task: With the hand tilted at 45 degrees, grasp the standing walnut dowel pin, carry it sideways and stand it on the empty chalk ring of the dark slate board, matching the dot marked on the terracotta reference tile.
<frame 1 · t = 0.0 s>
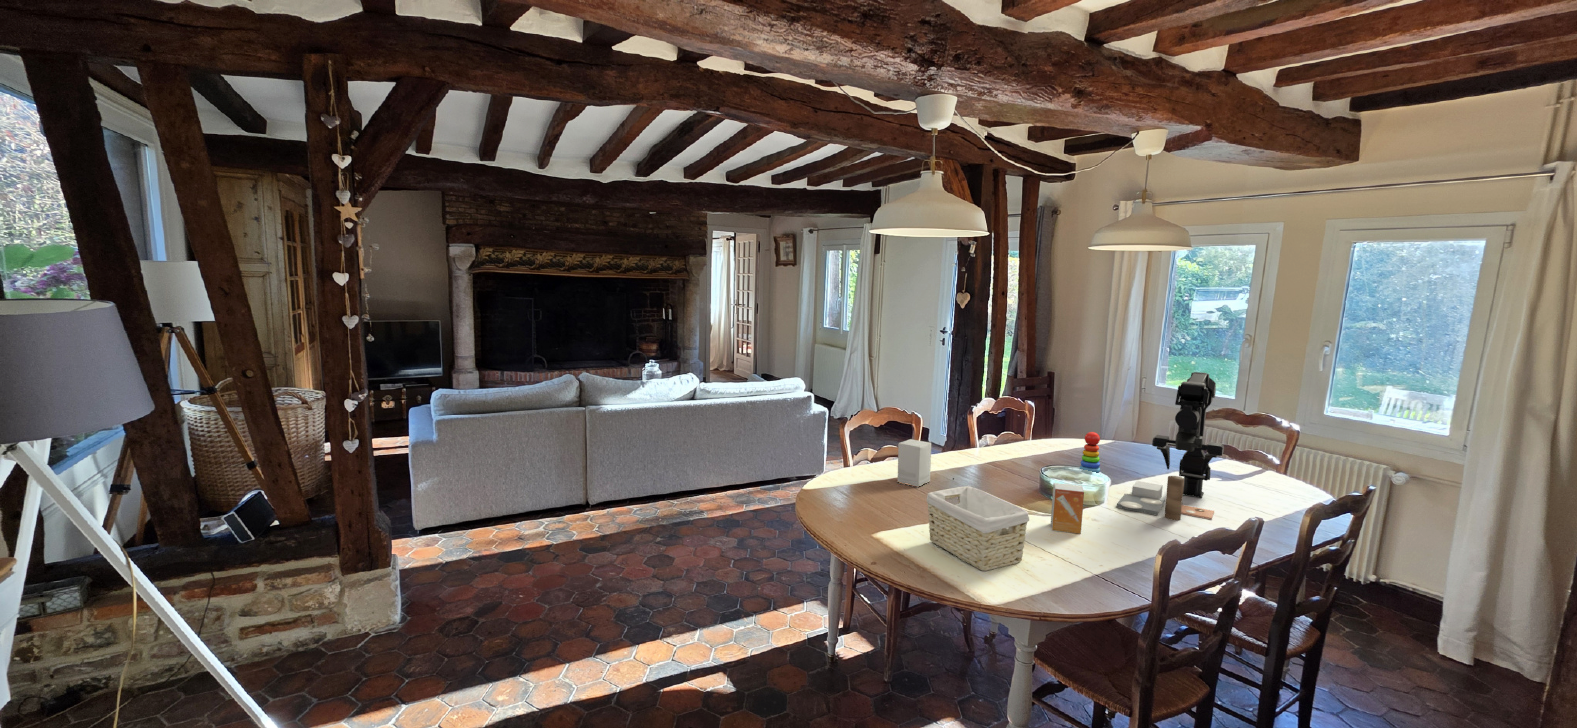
hand: (1185, 471, 208), 15 cm above the table, tool pointing down, fingers open, 9 cm apart
storage basket: (973, 553, 181), on the table
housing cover: (1146, 496, 229), on the table
slate board: (1140, 505, 220), on the table
stacking toy: (1088, 482, 245), on the table
small box: (1065, 529, 199), on the table
supplement box: (913, 483, 242), on the table
walnut pin: (1172, 517, 209), on the table
reference tile: (1194, 512, 214), on the table
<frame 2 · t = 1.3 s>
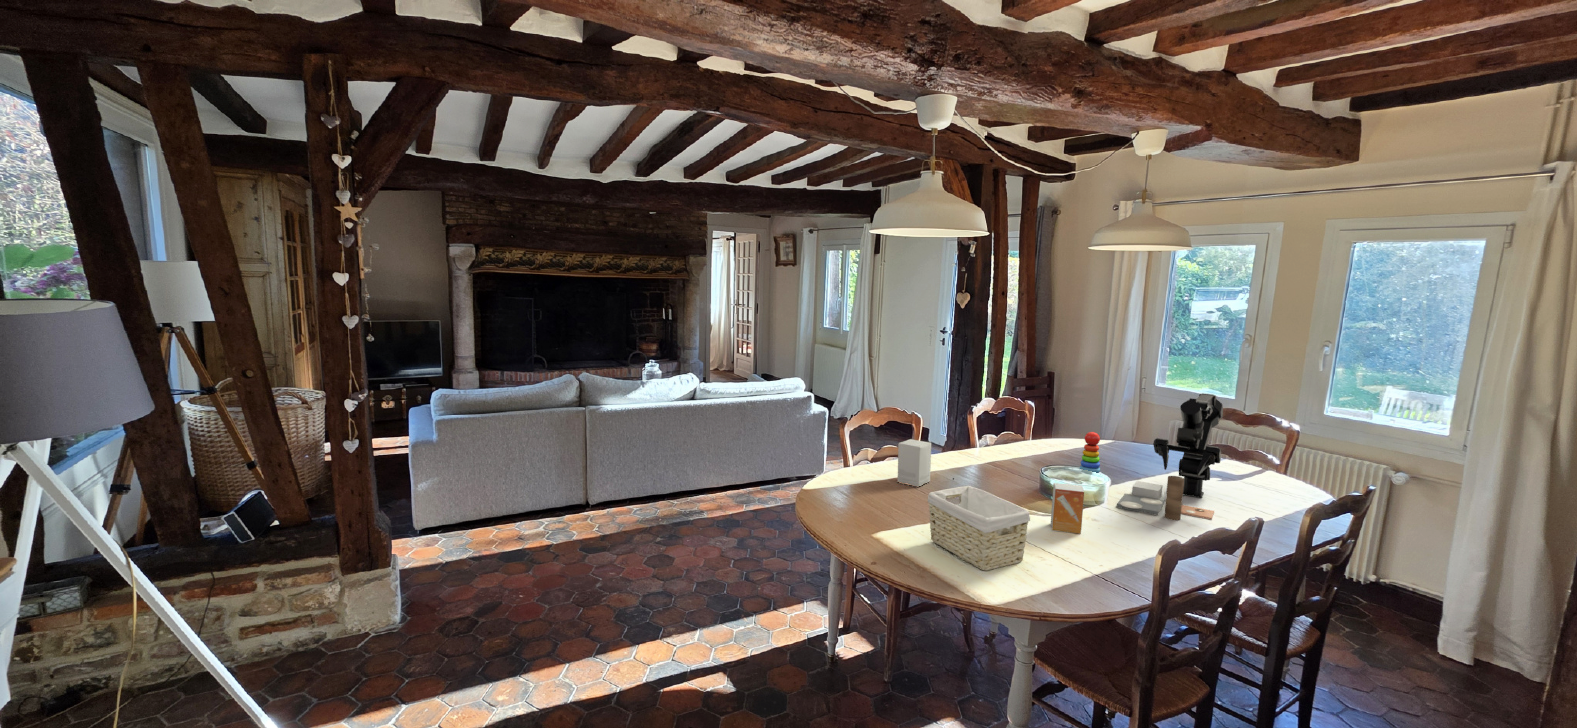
hand: (1181, 471, 213), 13 cm above the table, tool tilted 45°, fingers open, 9 cm apart
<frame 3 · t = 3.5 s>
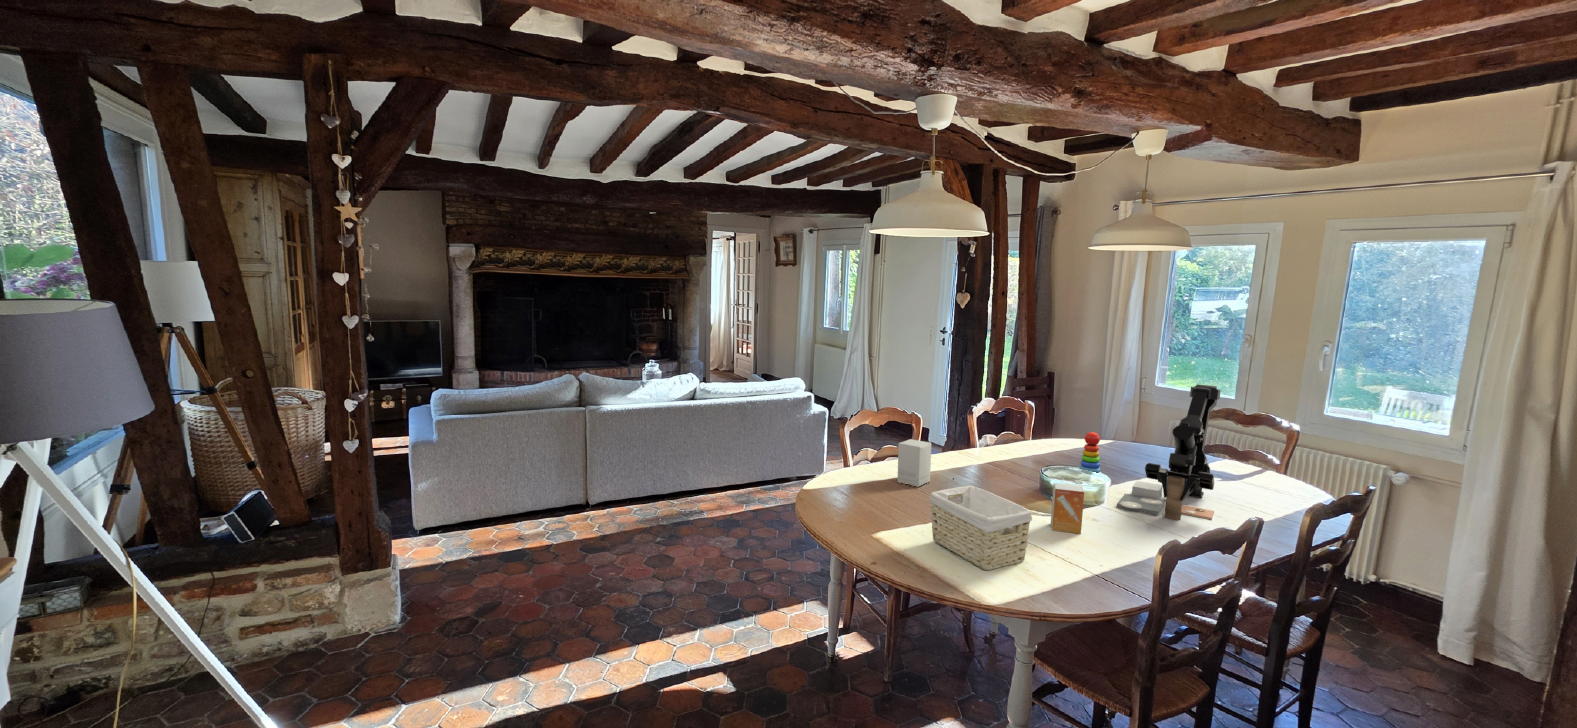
hand: (1173, 498, 207), 7 cm above the table, tool tilted 45°, fingers closed on walnut pin, 4 cm apart
walnut pin: (1172, 517, 209), on the table, touching gripper
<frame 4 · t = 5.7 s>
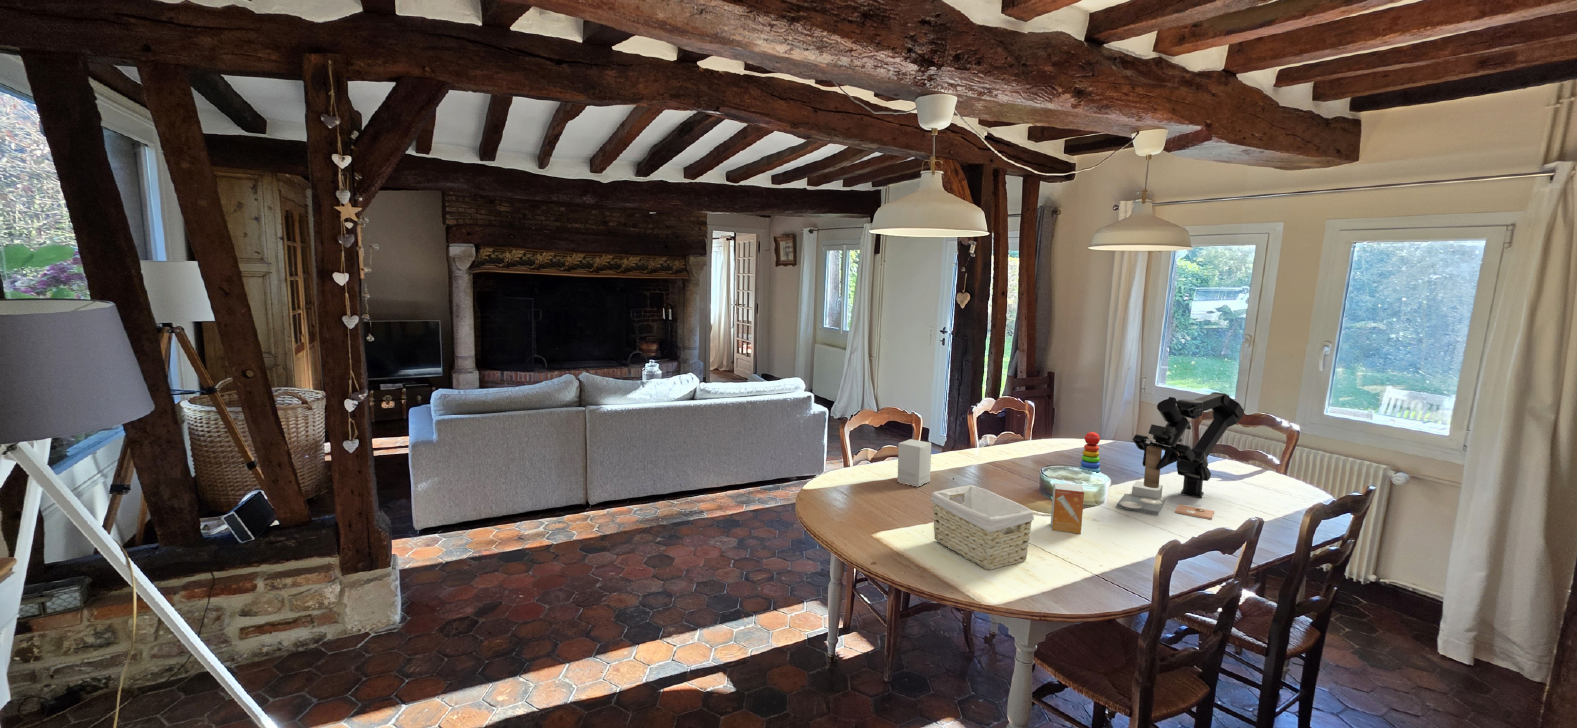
hand: (1150, 467, 219), 13 cm above the table, tool tilted 45°, fingers closed on walnut pin, 4 cm apart
walnut pin: (1151, 485, 220), point 6 cm above the table, touching gripper
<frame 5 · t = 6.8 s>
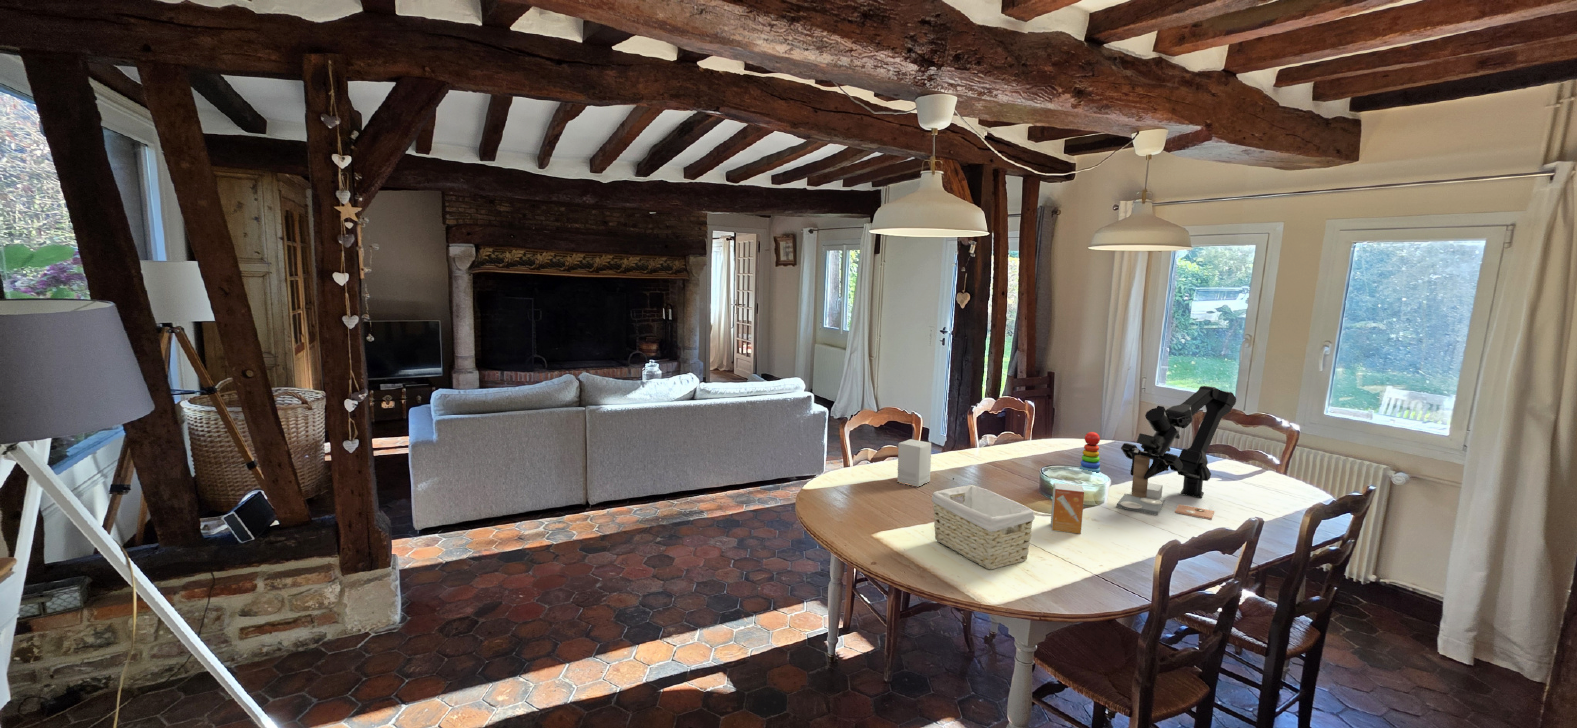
hand: (1137, 476, 217), 10 cm above the table, tool tilted 45°, fingers closed on walnut pin, 4 cm apart
walnut pin: (1138, 495, 218), point 4 cm above the table, touching gripper
when the fingers open (8 cm above the table, at t = 7.9 s): walnut pin stays where it is, resting on slate board.
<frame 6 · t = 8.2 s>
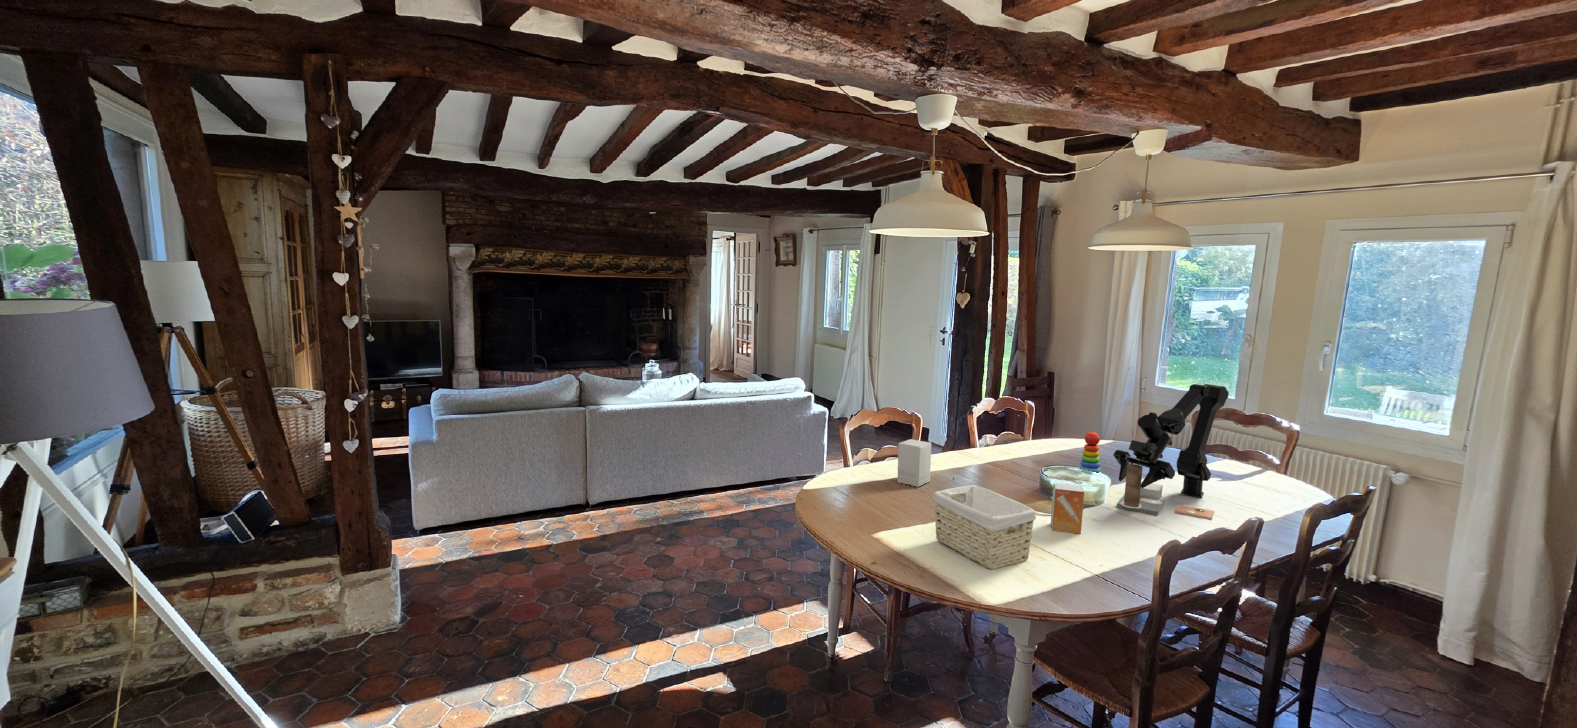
hand: (1130, 483, 215), 9 cm above the table, tool tilted 45°, fingers open, 7 cm apart
walnut pin: (1131, 504, 217), point 1 cm above the table, touching slate board
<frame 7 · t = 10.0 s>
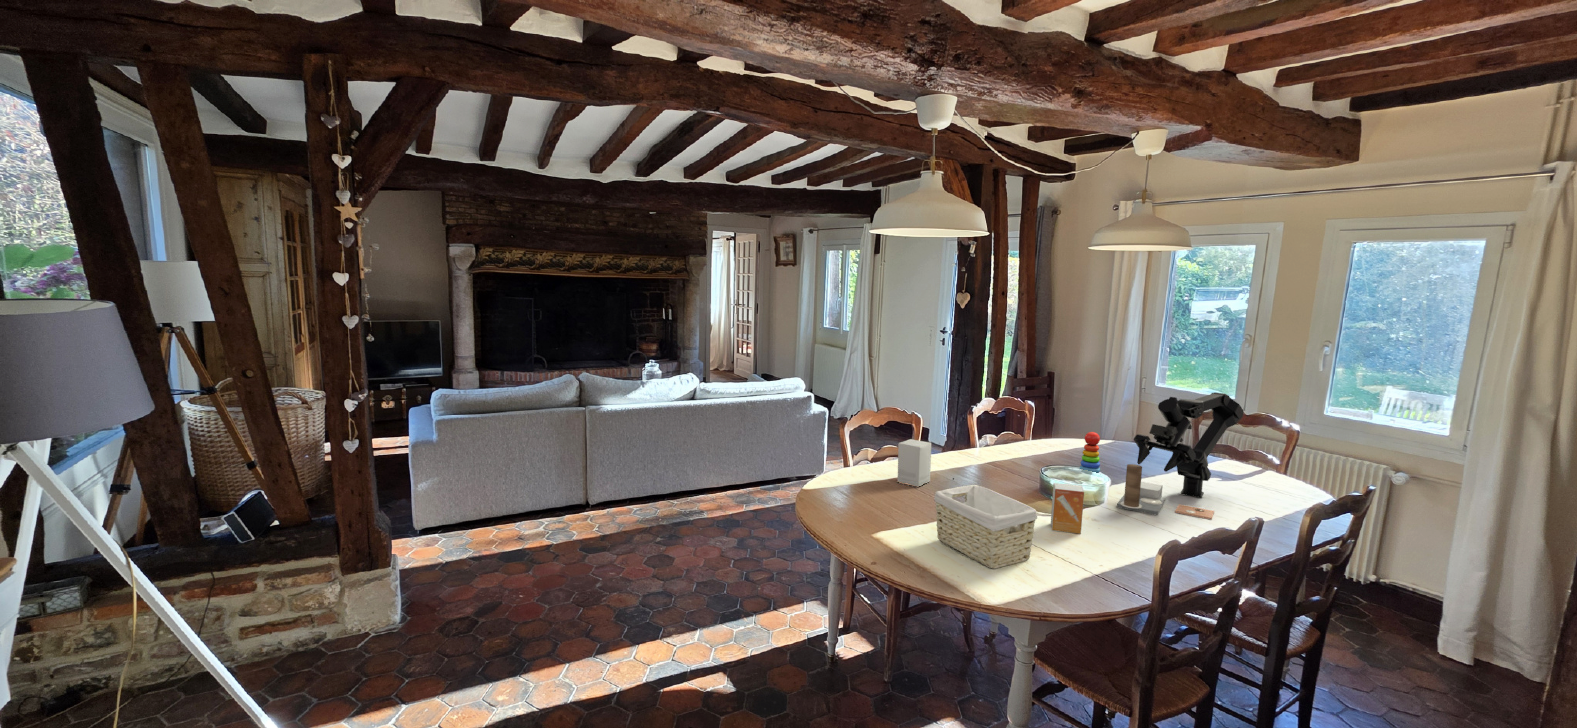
hand: (1151, 467, 219), 13 cm above the table, tool tilted 45°, fingers open, 9 cm apart
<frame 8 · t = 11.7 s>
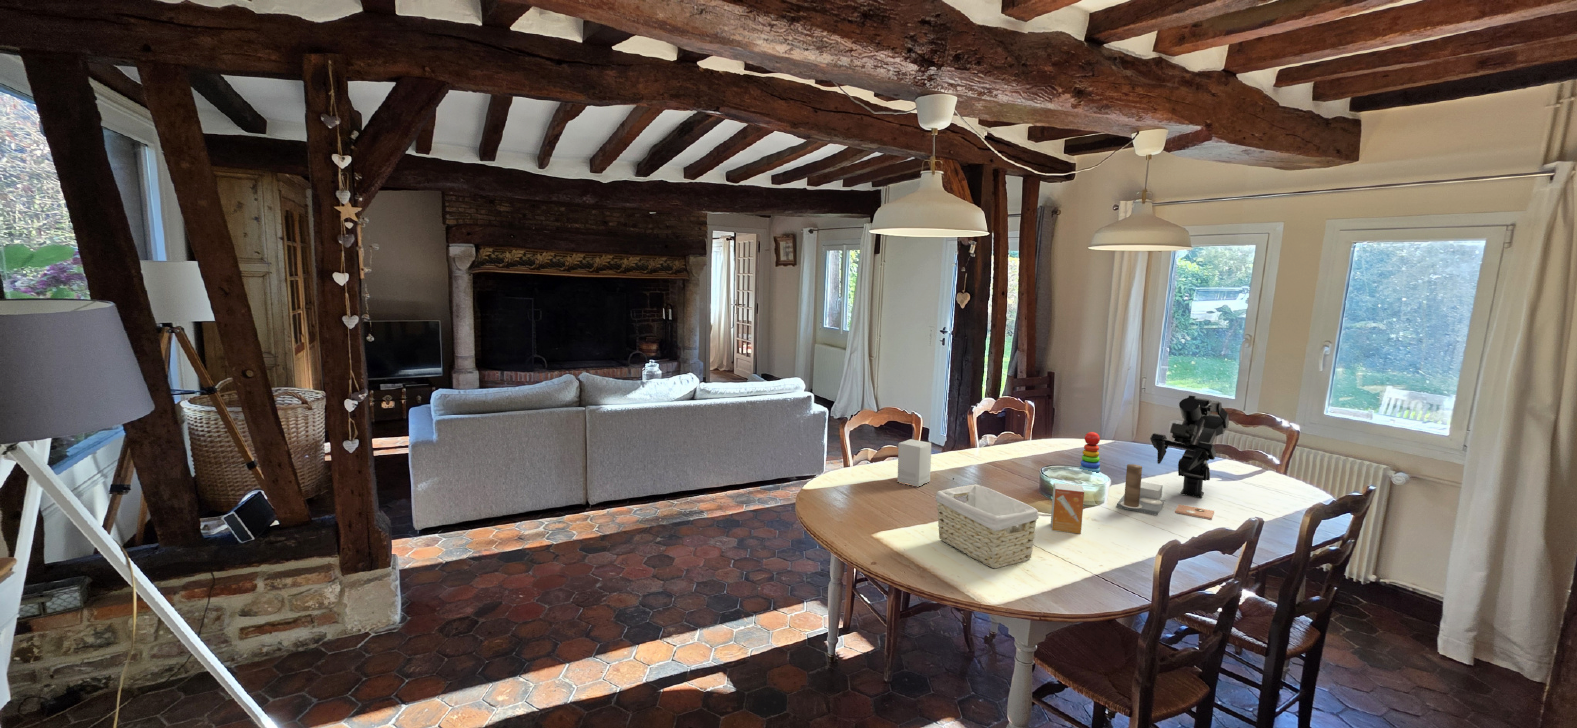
hand: (1173, 466, 218), 14 cm above the table, tool tilted 45°, fingers open, 9 cm apart
at the end: walnut pin 0.0 cm from the target spot on the slate board, point 1.3 cm above the slate board's base; walnut pin tilted 0°; the gripper is holding nothing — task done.
